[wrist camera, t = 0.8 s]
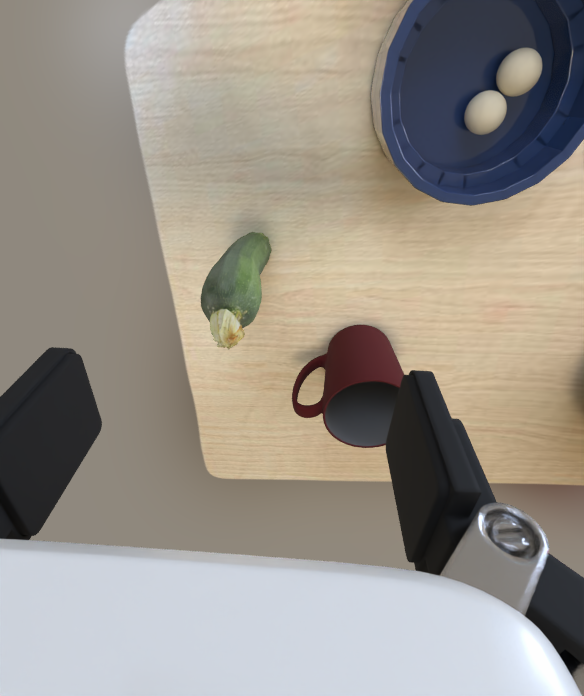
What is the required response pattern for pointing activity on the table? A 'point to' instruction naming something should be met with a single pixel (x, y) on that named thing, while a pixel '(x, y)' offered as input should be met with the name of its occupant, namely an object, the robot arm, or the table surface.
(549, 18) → the mixing bowl
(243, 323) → the vegetable
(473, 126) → the dumpling
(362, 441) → the mug
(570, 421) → the table surface
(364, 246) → the table surface
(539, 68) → the beige small ball
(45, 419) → the robot arm
